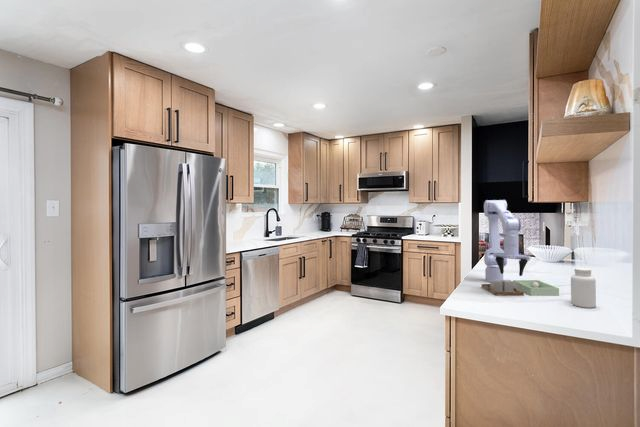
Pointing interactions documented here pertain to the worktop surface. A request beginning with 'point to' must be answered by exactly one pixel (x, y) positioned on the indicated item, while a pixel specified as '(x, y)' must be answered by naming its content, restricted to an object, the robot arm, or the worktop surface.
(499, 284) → the grey rectangular block
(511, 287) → the stone
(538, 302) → the worktop surface
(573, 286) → the pill bottle
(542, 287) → the green bin
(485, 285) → the walnut tray
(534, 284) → the white ball
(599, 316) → the worktop surface
